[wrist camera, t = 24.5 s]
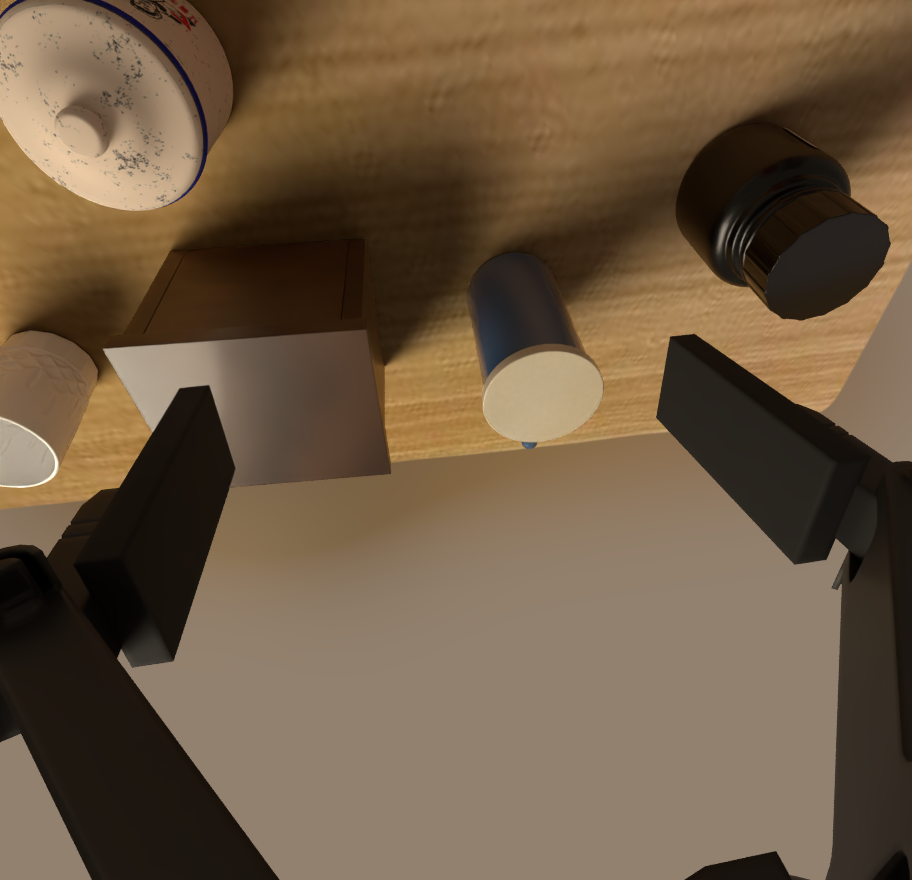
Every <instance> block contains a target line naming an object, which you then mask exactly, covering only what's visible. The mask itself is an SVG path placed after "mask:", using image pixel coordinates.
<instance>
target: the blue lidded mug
mask: <svg viewBox="0 0 912 880" xmlns="http://www.w3.org/2000/svg"><path fill="white" fill-rule="evenodd" d="M467 303H468V308H469V313H470V318H471V323H472V328H473V334H474V339H475V344H476V349H477V354H478V359H479V364H480V370H481V375H482V380H483V385H484V386H483V390H482V396H481V400H482V408H483V412H484V416H485V418H486V420H487V422H488V423H489V425H490V426H491V427H492V428H493V429H494V430H495V431H496V432H498V433H499V434H501V435H502V436H504V437H507V438H509V439H512V440H516V441H521V442H522V445H523V446H524V447H525V448H527V449H532V448H534V447H535V446H536V445H537V442H542V441H548V440H553V439H556V438H559V437H562V436H564V435H567V434H569V433H571V432H572V431H574V430H576V429H577V428H579V427H580V426H582V425H583V424H584V423H585V422H586V421H587V420H588V419H590V417H591V416H592V415H593V414H594V413H595V411H596V410H597V408H598V406H599V404H600V402H601V399H602V396H603V390H604V385H603V379H602V376H601V373H600V371H599V369H598V367H597V365H596V363H595V362H594V360H593V359H592V358H591V357H590V356H589V355H587V354H586V352H585V350H584V348H583V345H582V343H581V341H580V338H579V336H578V333H577V331H576V329H575V326H574V324H573V321H572V319H571V317H570V314H569V312H568V310H567V307H566V305H565V302H564V300H563V298H562V295H561V293H560V290H559V288H558V286H557V283H556V281H555V279H554V276H553V274H552V272H551V270H550V268H549V267H548V266H547V265H546V264H545V263H544V262H543V261H542V260H541V259H539V258H537V257H535V256H533V255H530V254H526V253H507V254H503V255H500V256H497V257H495V258H493V259H491V260H489V261H488V262H486V263H485V264H484V265H483V266H481V267H480V268H479V269H478V271H477V272H476V273H475V275H474V276H473V278H472V280H471V281H470V284H469V287H468V291H467Z"/></svg>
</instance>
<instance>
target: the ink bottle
mask: <svg viewBox="0 0 912 880" xmlns="http://www.w3.org/2000/svg"><path fill="white" fill-rule="evenodd" d="M676 219H677V224H678V227H679V229H680V231H681V233H682V235H683V236H684V237H685V239H686V240H687V241H688V242H689V244H690V245H691V246H692V247H693V248H694V250H695V251H696V252H697V253H698V255H699V256H700V257H701V258H702V259H703V261H704V262H705V263H706V264H707V265H708V267H709V268H710V269H711V270H712V272H713V273H714V274H715V275H716V276H717V277H719V278H720V279H721V280H723V281H724V282H726V283H729V284H731V285H735V286H739V287H750V288H751V289H752V291H753V292H754V293H755V294H756V295H757V296H758V297H759V299H760V300H761V301H762V302H763V303H764V304H765V305H766V306H767V308H768V309H769V310H770V311H773V312H774V313H775V314H777V315H779V316H780V317H781V318H782V319H795V320H805V319H808V318H812V317H817V316H822V315H825V314H827V313H828V312H830V311H832V310H834V309H836V308H838V307H840V306H841V305H844V304H846V303H848V302H849V301H850V300H851V299H852V298H853V297H854V296H855V295H857V294H858V293H859V292H860V291H861V290H863V289H864V288H866V287H867V286H868V285H869V283H870V281H871V280H872V279H873V277H874V276H875V275H876V273H877V272H878V271H879V269H881V268H882V266H883V264H884V260H885V257H886V255H887V252H888V249H889V247H890V244H891V242H890V241H889V233H888V229H889V228H888V225H887V224H885V223H884V222H882V221H881V220H880V219H879V218H878V217H877V215H875V214H874V213H873V212H871V211H870V210H868V209H867V208H865V207H864V206H863V205H861V204H860V203H858V202H857V201H855V200H854V199H853V198H851V187H850V181H849V178H848V175H847V173H846V171H845V169H844V168H843V167H842V165H841V164H840V163H839V162H838V161H837V160H835V159H834V158H833V157H831V156H830V155H828V154H827V153H825V152H824V151H822V150H821V149H819V148H818V147H816V146H814V145H813V144H811V143H810V142H808V141H807V140H805V139H803V138H802V137H800V136H799V135H797V134H796V133H794V132H792V131H791V130H789V129H787V128H785V127H783V126H780V125H777V124H772V123H755V124H749V125H745V126H742V127H739V128H736V129H734V130H732V131H729V132H727V133H725V134H724V135H722V136H720V137H719V138H717V139H716V140H714V141H713V142H712V143H710V144H709V145H708V146H707V147H706V148H704V149H703V150H702V151H701V152H700V154H699V155H698V156H697V157H696V158H695V160H694V161H693V162H692V164H691V165H690V167H689V168H688V170H687V172H686V174H685V176H684V178H683V180H682V182H681V185H680V188H679V191H678V195H677V200H676Z"/></svg>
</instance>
